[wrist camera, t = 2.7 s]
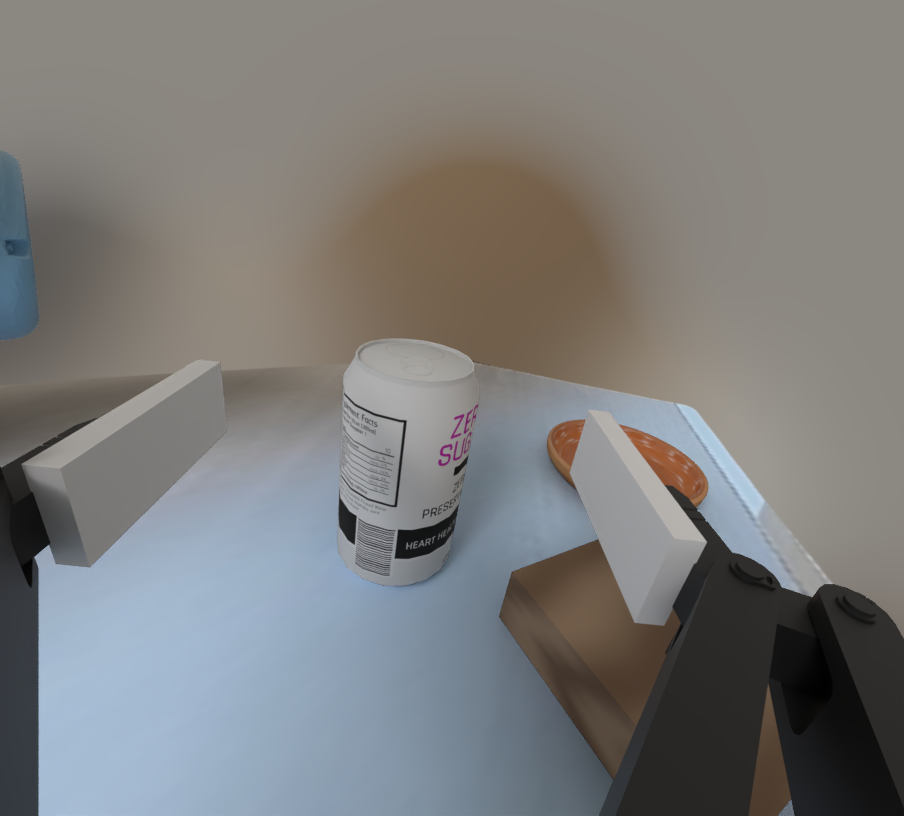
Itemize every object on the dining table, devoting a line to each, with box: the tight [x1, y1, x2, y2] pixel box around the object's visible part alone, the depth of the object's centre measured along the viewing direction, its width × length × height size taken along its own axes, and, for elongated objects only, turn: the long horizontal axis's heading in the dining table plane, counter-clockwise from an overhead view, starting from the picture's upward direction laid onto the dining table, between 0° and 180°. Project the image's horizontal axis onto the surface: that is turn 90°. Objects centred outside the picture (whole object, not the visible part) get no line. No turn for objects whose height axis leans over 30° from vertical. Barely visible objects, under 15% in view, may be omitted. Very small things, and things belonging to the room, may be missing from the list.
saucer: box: [547, 420, 708, 507], centre depth 45 cm, size 16×16×3 cm
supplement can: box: [337, 339, 480, 586], centre depth 28 cm, size 8×8×15 cm
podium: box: [499, 540, 791, 816], centre depth 25 cm, size 14×14×4 cm
